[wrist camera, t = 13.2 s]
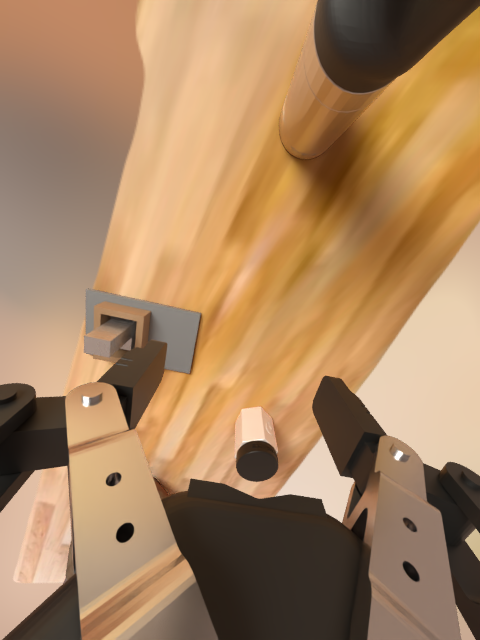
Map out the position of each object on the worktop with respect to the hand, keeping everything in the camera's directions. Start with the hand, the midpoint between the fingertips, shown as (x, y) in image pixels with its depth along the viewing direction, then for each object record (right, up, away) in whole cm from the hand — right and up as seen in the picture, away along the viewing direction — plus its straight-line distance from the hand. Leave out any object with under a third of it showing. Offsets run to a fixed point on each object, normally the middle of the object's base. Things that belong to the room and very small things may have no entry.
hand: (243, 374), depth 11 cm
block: (-23, 0, +34) cm, 41 cm away
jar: (+3, -21, +43) cm, 48 cm away
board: (-20, 0, +35) cm, 41 cm away
